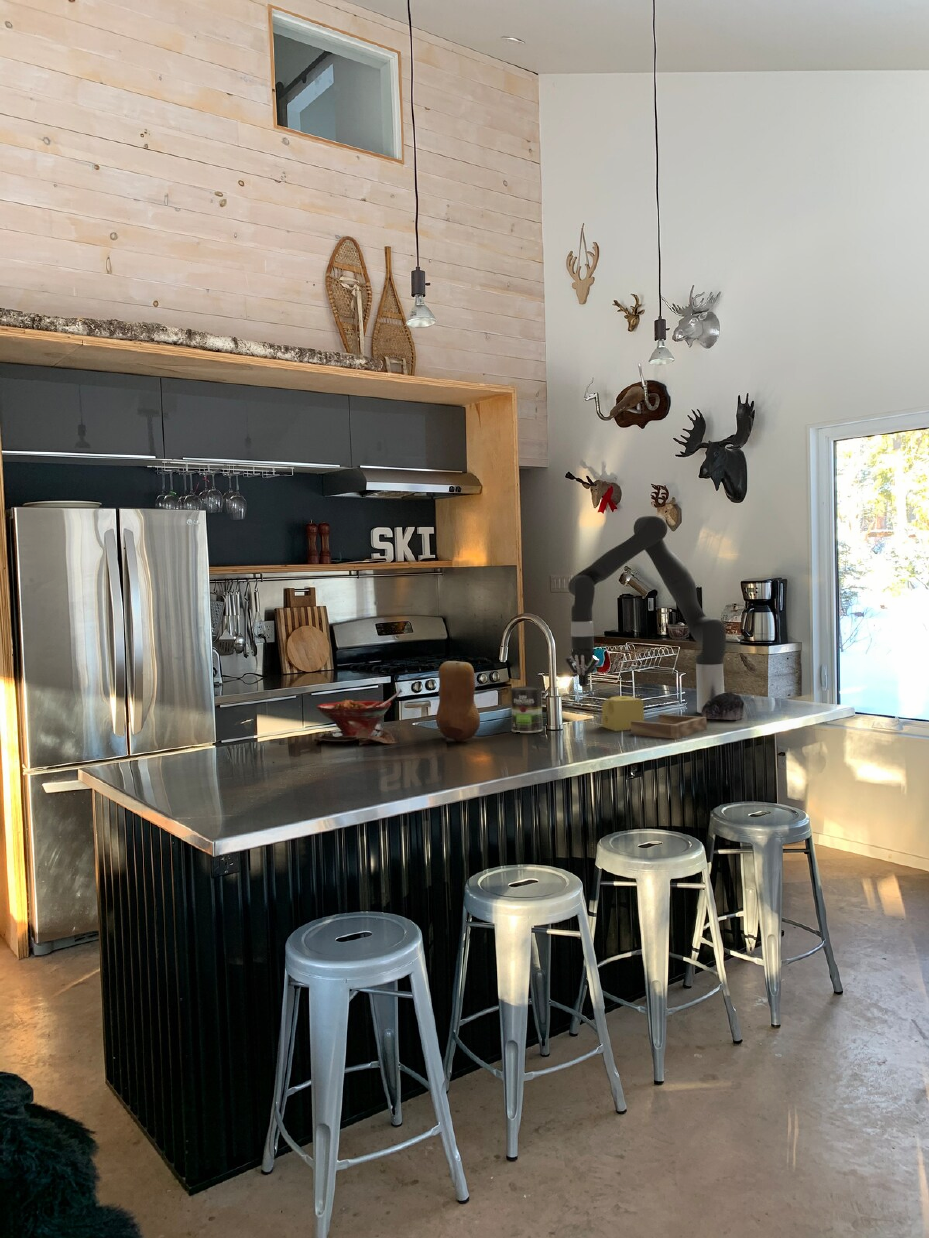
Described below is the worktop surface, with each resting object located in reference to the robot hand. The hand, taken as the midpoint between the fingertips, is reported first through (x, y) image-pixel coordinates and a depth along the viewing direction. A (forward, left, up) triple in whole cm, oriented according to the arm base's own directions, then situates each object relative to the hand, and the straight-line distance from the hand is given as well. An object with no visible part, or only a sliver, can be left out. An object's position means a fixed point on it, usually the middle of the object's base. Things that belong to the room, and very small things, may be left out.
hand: (583, 686), depth 322 cm
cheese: (0, +15, -13) cm, 20 cm away
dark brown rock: (-29, +36, -13) cm, 48 cm away
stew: (+63, -43, -13) cm, 78 cm away
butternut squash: (+45, -17, -13) cm, 50 cm away
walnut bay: (0, +32, -13) cm, 35 cm away
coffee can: (+20, -9, -13) cm, 26 cm away
